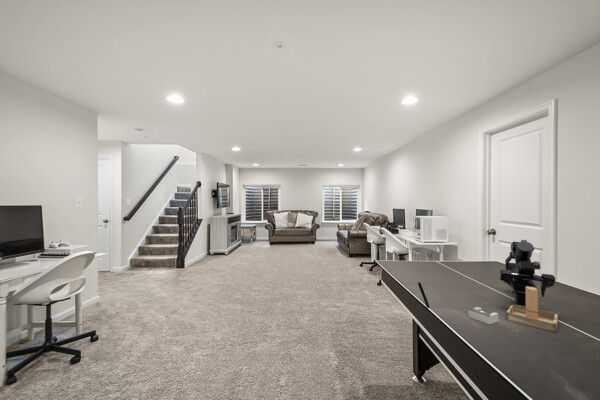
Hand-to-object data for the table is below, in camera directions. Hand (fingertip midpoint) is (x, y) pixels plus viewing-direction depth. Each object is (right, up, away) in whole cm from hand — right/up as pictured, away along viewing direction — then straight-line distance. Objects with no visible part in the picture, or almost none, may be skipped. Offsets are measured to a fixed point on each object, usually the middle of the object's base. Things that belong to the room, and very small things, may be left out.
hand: (529, 294), depth 114 cm
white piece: (-22, -9, -3) cm, 24 cm away
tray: (-3, -9, -5) cm, 11 cm away
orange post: (-3, -9, -5) cm, 10 cm away
